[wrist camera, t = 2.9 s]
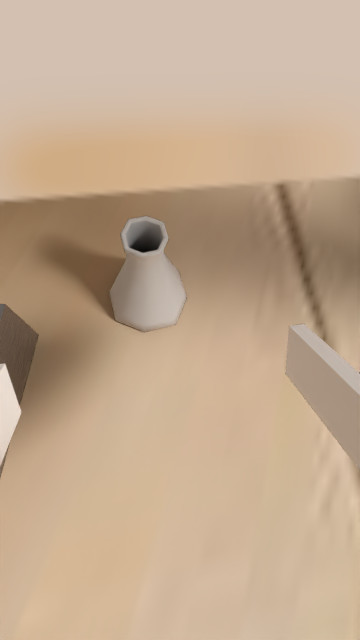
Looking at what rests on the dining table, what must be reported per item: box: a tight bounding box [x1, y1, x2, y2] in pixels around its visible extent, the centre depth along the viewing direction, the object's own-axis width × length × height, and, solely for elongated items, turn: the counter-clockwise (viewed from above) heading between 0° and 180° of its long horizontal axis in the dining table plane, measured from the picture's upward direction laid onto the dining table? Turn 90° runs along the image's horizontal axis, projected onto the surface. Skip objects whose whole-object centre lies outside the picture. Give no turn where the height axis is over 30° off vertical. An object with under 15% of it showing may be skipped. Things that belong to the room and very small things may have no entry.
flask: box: [109, 216, 187, 332], centre depth 27 cm, size 7×7×10 cm
